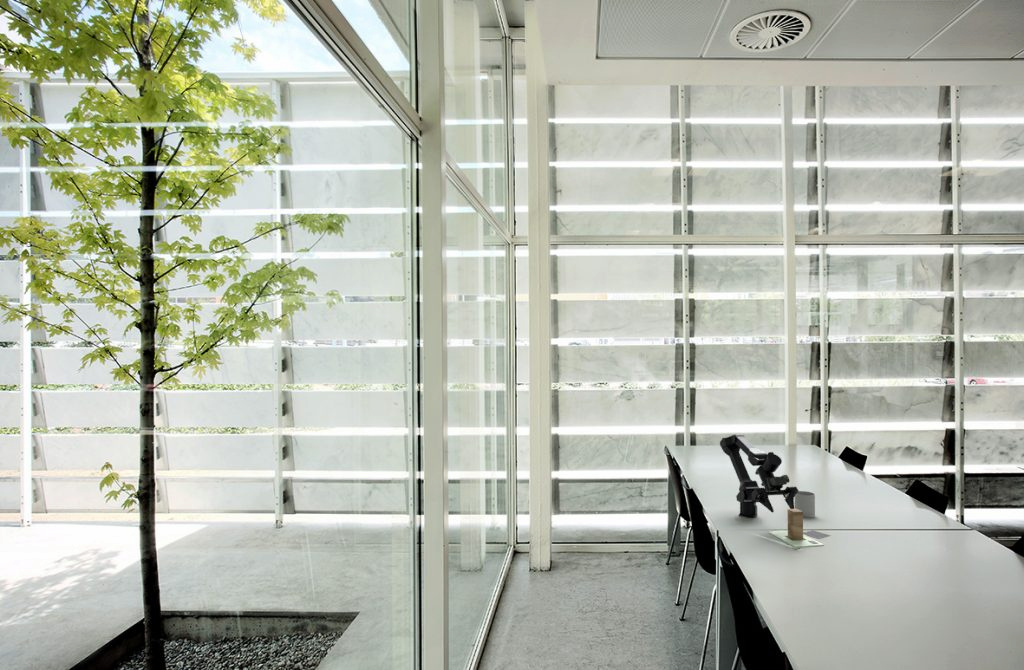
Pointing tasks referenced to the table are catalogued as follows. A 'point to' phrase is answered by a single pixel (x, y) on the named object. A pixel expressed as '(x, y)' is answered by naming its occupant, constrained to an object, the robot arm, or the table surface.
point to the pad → (816, 534)
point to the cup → (805, 503)
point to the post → (795, 524)
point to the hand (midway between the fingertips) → (783, 511)
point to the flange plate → (795, 544)
